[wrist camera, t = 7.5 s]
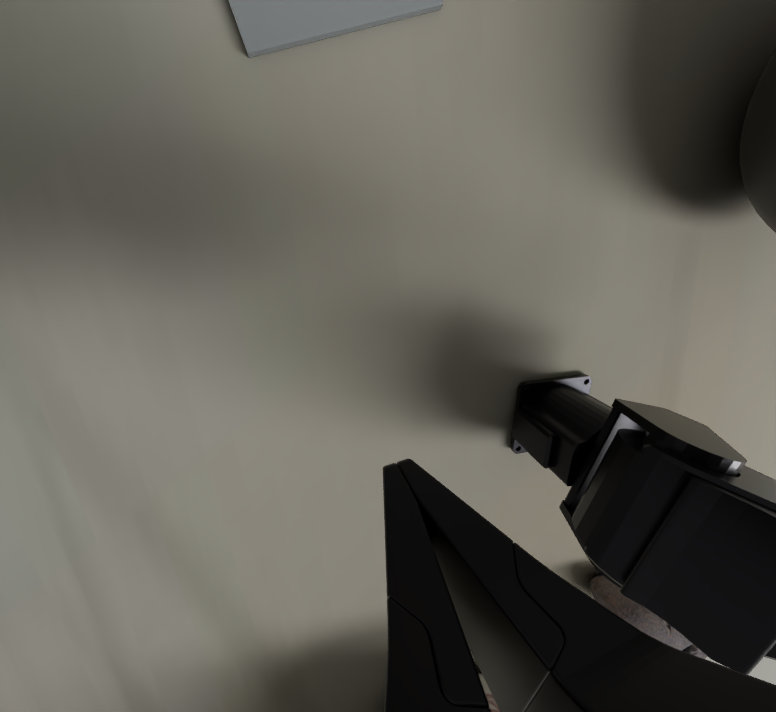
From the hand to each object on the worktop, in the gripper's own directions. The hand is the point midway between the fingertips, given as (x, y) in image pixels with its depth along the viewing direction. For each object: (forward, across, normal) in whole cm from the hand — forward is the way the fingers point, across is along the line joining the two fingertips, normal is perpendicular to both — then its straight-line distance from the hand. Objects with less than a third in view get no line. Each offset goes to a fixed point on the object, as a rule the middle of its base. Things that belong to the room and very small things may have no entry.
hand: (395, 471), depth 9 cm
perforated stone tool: (+3, -28, +37) cm, 47 cm away
